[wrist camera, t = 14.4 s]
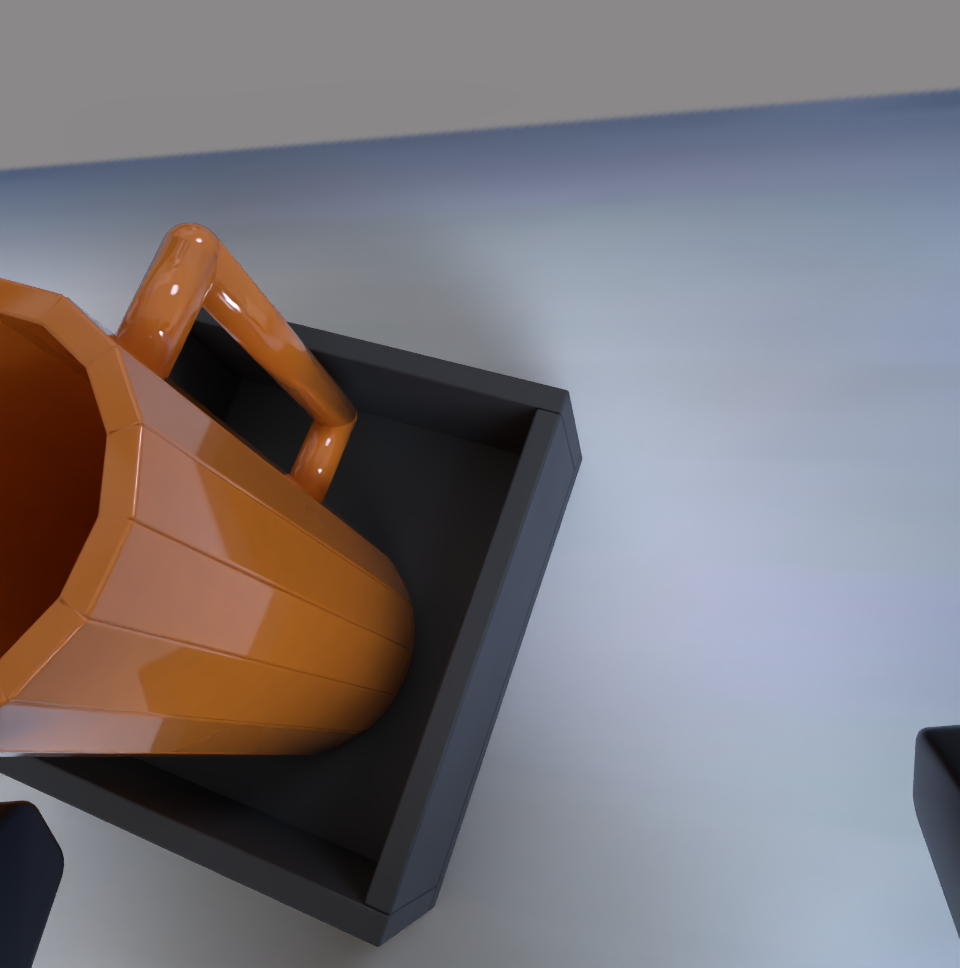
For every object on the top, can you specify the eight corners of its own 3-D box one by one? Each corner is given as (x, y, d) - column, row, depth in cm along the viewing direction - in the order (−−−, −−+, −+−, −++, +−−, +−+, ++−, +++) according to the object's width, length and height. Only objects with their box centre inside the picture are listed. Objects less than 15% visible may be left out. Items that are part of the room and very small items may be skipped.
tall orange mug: (363, 792, 21) (-18, 840, 9) (162, 708, 23) (-390, 651, 11) (482, 472, 23) (303, 156, 11) (289, 416, 25) (-51, 88, 13)
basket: (434, 908, 20) (378, 947, 16) (71, 748, 23) (-57, 747, 19) (583, 457, 23) (569, 389, 19) (242, 366, 26) (164, 290, 22)
